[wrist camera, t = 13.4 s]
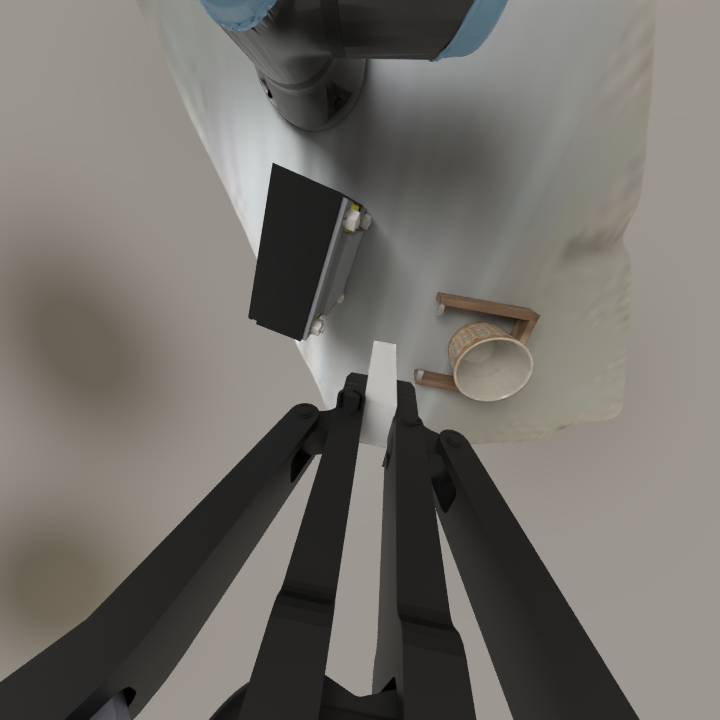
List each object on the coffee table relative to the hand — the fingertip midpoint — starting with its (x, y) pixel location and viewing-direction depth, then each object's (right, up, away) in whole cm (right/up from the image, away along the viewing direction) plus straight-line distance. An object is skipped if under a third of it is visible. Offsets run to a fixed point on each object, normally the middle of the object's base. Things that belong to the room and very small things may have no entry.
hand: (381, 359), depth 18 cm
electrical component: (-7, +20, +29) cm, 36 cm away
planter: (+22, +3, +35) cm, 41 cm away
